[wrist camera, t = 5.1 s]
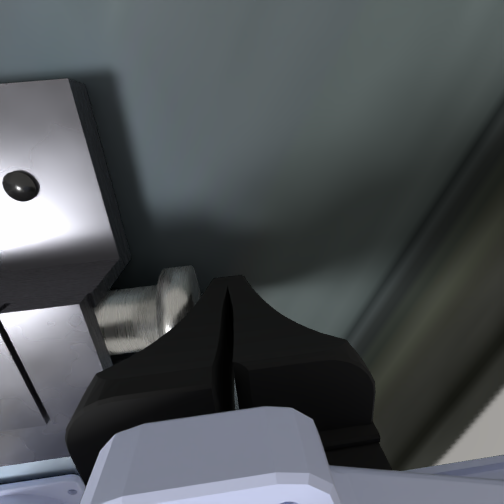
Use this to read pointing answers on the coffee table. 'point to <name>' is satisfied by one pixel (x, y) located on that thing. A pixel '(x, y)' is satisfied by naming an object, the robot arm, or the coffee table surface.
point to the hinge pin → (146, 310)
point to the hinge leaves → (51, 262)
